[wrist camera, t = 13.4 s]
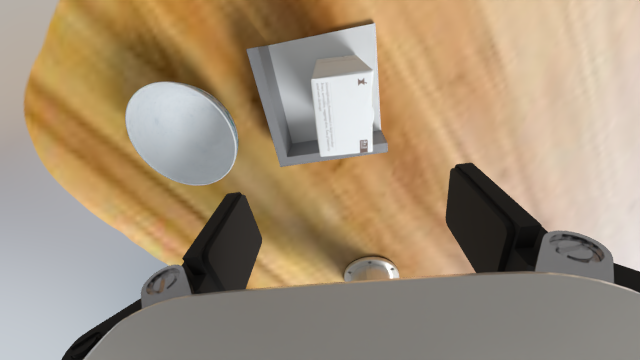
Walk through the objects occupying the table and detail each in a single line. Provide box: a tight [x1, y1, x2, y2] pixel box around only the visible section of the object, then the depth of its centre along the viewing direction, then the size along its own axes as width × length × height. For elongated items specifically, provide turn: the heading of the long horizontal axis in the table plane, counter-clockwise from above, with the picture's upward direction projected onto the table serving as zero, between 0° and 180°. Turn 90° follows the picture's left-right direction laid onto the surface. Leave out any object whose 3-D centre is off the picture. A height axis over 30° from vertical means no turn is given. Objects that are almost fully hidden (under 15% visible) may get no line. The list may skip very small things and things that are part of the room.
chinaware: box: [125, 82, 238, 185], centre depth 37 cm, size 15×15×8 cm
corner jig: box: [246, 23, 388, 167], centre depth 34 cm, size 16×16×6 cm
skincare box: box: [311, 55, 374, 157], centre depth 29 cm, size 8×6×15 cm
